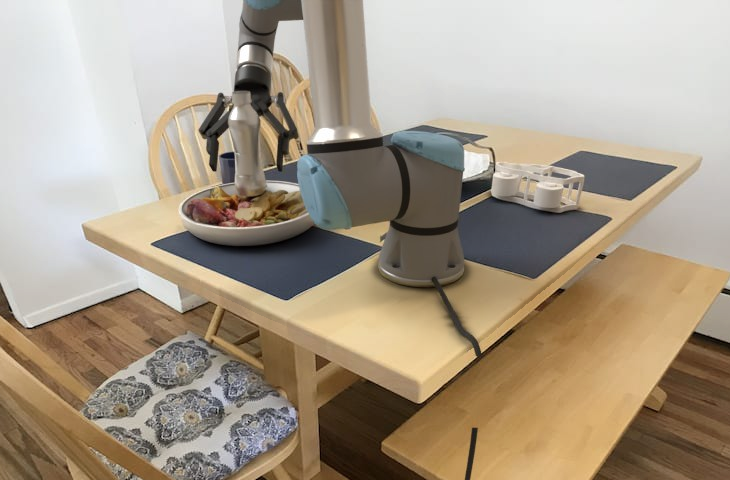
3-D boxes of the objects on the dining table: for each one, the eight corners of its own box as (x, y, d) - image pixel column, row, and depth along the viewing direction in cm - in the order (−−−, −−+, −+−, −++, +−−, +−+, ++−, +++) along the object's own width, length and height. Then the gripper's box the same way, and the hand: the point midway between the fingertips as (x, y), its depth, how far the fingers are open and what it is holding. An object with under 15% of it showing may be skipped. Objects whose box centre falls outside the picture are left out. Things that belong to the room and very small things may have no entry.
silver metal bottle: (230, 198, 114) (217, 94, 103) (244, 188, 119) (233, 89, 108) (259, 201, 112) (248, 96, 101) (272, 190, 117) (263, 90, 107)
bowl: (258, 192, 137) (255, 160, 132) (350, 219, 120) (350, 183, 116) (154, 228, 118) (146, 192, 113) (246, 266, 101) (241, 226, 97)
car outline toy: (479, 197, 130) (483, 166, 126) (506, 187, 136) (510, 157, 132) (557, 219, 117) (564, 185, 113) (582, 206, 124) (590, 174, 120)
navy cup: (250, 196, 134) (246, 159, 130) (220, 196, 135) (215, 159, 130) (255, 186, 141) (252, 151, 136) (227, 187, 141) (222, 151, 136)
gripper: (314, 86, 117) (309, 177, 113) (201, 88, 119) (191, 177, 115) (310, 62, 110) (304, 158, 105) (189, 64, 112) (178, 158, 107)
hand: (245, 168), depth 110 cm, fingers open, 13 cm apart
